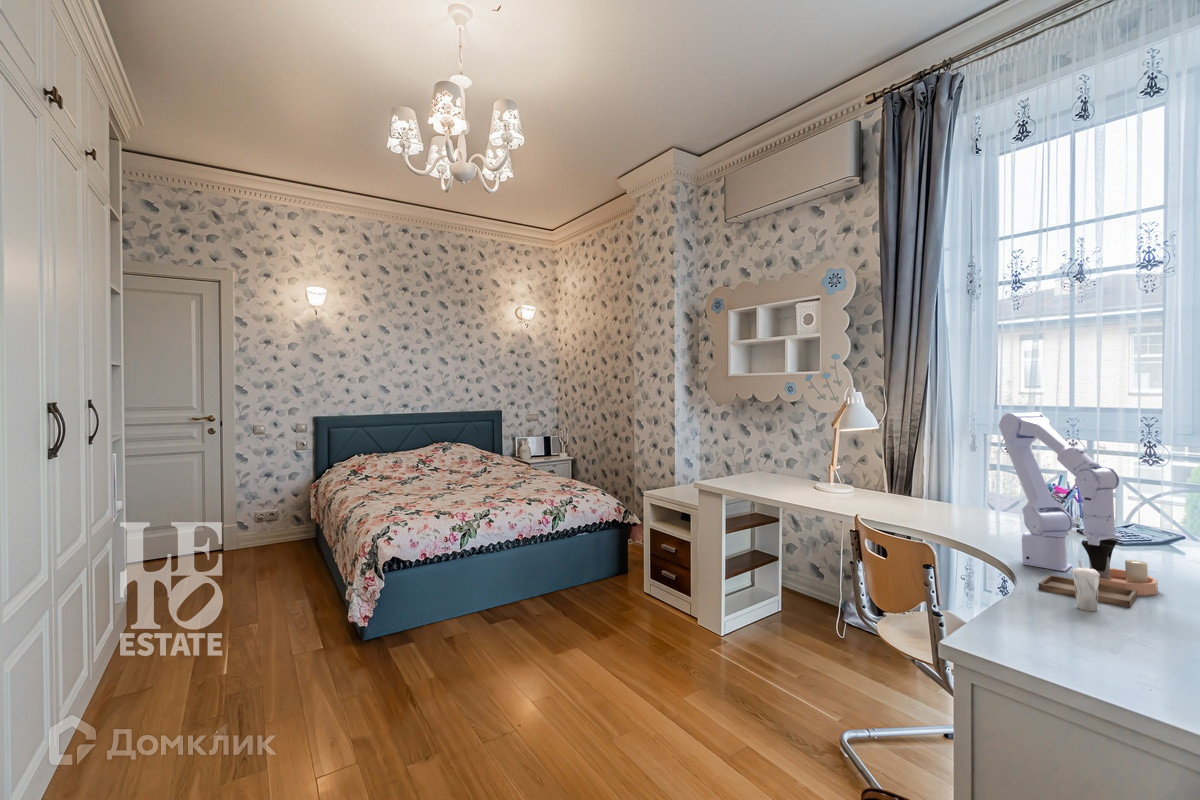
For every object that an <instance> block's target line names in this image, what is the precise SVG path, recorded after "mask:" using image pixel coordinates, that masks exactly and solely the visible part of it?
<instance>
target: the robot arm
mask: <svg viewBox="0 0 1200 800" xmlns="http://www.w3.org/2000/svg"><path fill="white" fill-rule="evenodd" d="M998 428H999V430H1000V433H1001V435H1002V437H1003V440H1004V443H1005V445H1004V446H1005V448H1006V450H1007V453H1008V455H1009V458H1010V460H1011V463H1012V466H1013V467H1014V470H1015V472H1016V474H1017V477H1018V480H1019V482H1020V485H1021V487H1022V489H1023V492H1024V494H1025V497H1026V499H1027V503H1026V504H1025V505H1024V506H1023V508H1022V509H1021V510H1022V514H1023V523H1024V526H1025V527H1026V529H1027V530H1028V531H1024V532H1023V533H1022V535H1021V552H1022V553H1021V555H1022V562H1021V564H1022V565H1025V566H1026V565H1027V566H1030V567H1031V566H1032V567H1037V568H1042V569H1043V568H1044V569H1050V570H1055V571H1060V572H1067V571H1068V569H1070V568H1071V567H1072V566H1073V564H1072V563H1068V554H1067V550H1068V549H1067V536H1069V533H1070V532H1071V531H1072V530H1073V528H1074V519H1073V517H1072V516H1071V514H1070V513H1069V512H1068V511H1067V509H1066V508H1065V506H1064V504H1063V503H1061V502H1060V501H1057V500H1056V499H1055V498H1053V497H1052V495H1051V493H1050V490H1049V488H1048V485H1047V483H1046V481H1045V479H1044V477H1043V474H1042V472H1041V470H1040V467H1039V465H1038V463H1037V460H1036V458H1035V456H1034V453H1033V451H1032V448H1031V445H1032V443H1034V442H1036V441H1037V440H1039V441H1040V442H1042V443H1043V444H1044V445H1045V446H1046V447H1048V448H1049V449H1050V450H1052V451H1053V452H1054V453H1056V455H1057V458H1056V460H1057V461H1058V462H1059V463H1060V464H1061V466H1063V467H1064V468H1065V469H1066V470H1067V471H1068V472H1070V474H1071V475H1073V476H1074V477H1075V478H1074V481H1075V484H1076V486H1077V487H1078V490H1079V494H1080V496H1081V497H1082V515H1083V516H1082V517H1083V519H1082V520H1083V530H1082V535H1084V536H1085V537H1086V540H1081V545H1082V547H1083V548H1084V550H1085V551H1086V553H1087V556H1088V560H1089V559H1090V562H1091V565H1092V568H1093V569H1095V570H1097V571H1102V572H1104V571H1105V569H1106V564H1107V558H1108V557H1109V561H1110V562H1111V559H1112V556H1113V551H1114V549H1115V547H1116V545H1117V543H1118V542H1119V540H1118V539H1122V534H1120V533H1116V532H1115V530H1116V529H1115V528H1116V527H1115V511H1114V509H1115V508H1114V504H1115V503H1114V490H1115V489H1117V488H1118V486H1119V485H1120V477H1119V475H1118V474H1117V472H1116V471H1115V469H1113V468H1111V467H1108V466H1103V465H1101V464H1099V462H1097V461H1095V460H1094V459H1093V458H1092V457H1090V456H1089V455H1088V454H1087V453H1086V450H1085V449H1084V448H1083V447H1079V446H1071V445H1070V444H1069V443H1068V442H1067V441H1066V440H1065V439H1063V437H1062V436H1061V435H1060V434H1059V433H1058V432H1057V431H1056V430H1055V429H1054V428H1053V427H1052V426H1051V423H1050V419H1049V418H1048V417H1046V416H1045V415H1044V414H1043V413H1042V412H1039V411H1033V412H1015V413H1013V412H1006V413H1004V414H1003V415H1002V416H1001V419H1000V421H999V424H998Z"/></svg>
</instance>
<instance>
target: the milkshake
mask: <svg viewBox="0 0 1200 800" xmlns="http://www.w3.org/2000/svg"><path fill="white" fill-rule="evenodd" d="M1077 562H1078V567H1074V568H1073V569H1072V570H1071V574H1072V579H1073V580H1074V587H1075V594H1076V597H1075V600H1076V607H1077V608H1078V610H1082V611H1084V612H1085V611H1086V612H1095V613H1096V612H1098V608H1099V607H1098V605H1099V602H1098V589H1099V577H1100V574H1099V573H1098V572H1097V571H1096V570H1095V569H1089V568H1090V567H1083V565H1082V560H1079V559H1078V561H1077Z"/></svg>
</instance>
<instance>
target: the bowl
mask: <svg viewBox="0 0 1200 800" xmlns="http://www.w3.org/2000/svg"><path fill="white" fill-rule="evenodd" d="M1088 568H1089V569H1090V567H1088ZM1110 571H1111V580H1107V579H1103V578H1100V577H1099V584H1103V585H1108V586H1114V587H1119V588H1125V589H1130V590H1136V591H1137V596H1142V597H1143V596H1153V595H1157V594H1158V592H1159V587H1158V586H1159V583H1158V579H1156V578H1155V577H1152V576H1150V575H1148V583H1141V584H1139V583H1126V570H1125V569H1118V568H1112V567H1110Z"/></svg>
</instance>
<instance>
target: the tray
mask: <svg viewBox="0 0 1200 800" xmlns="http://www.w3.org/2000/svg"><path fill="white" fill-rule="evenodd" d="M1038 590H1039V591H1045V592H1050V593H1055V594H1059V595H1062V596H1064V595H1065V596H1069V597H1075V598H1076V594H1075V587H1074V580H1073V578H1069V577H1064V576H1058V575H1053V574H1048V575H1047V576H1046V577H1045V578H1043V579H1042V580H1041V581H1039V582H1038ZM1137 598H1138V595H1137V591H1136V590H1130V589H1125V588H1119V587H1114V586H1108V585H1103V584H1099V589H1098V603H1099V602H1100V603H1104V604H1109V605H1114V606H1118V607H1122V608H1123V607H1124V608H1129V609H1130V608H1131V607H1132V605H1133V604H1134V602H1135V601H1136V600H1137Z"/></svg>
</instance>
